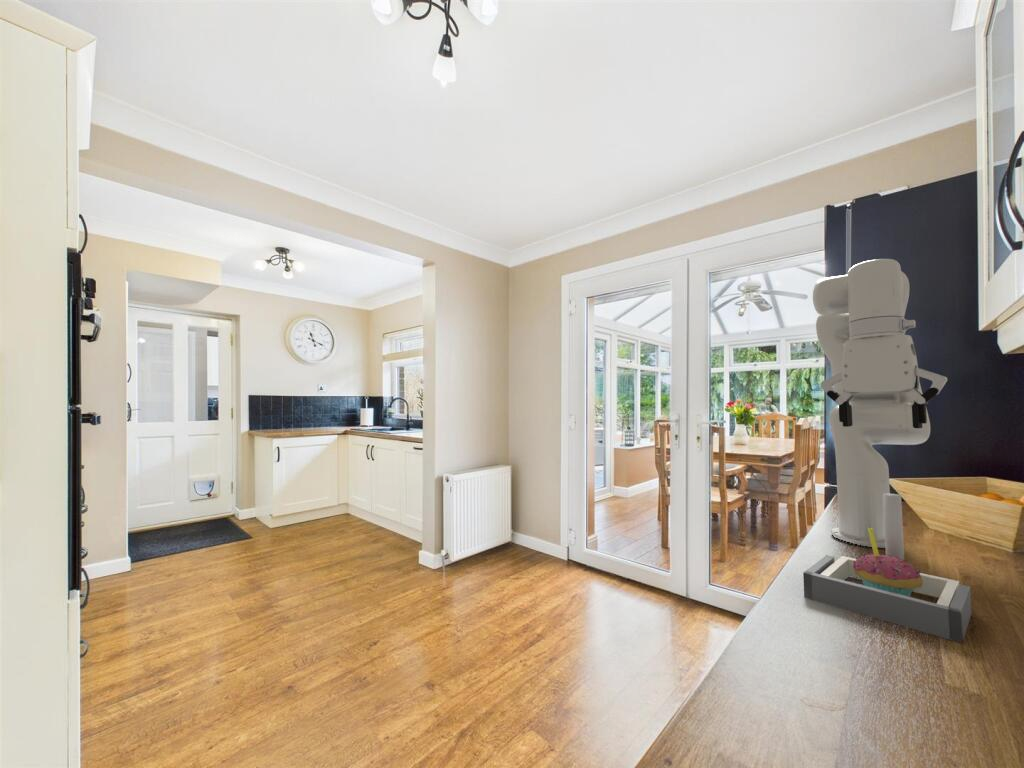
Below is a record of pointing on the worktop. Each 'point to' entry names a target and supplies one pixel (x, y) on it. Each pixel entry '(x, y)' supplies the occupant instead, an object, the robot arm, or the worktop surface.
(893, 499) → the collar
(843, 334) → the robot arm
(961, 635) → the holder bay
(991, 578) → the worktop surface
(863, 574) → the pink frosted cake
